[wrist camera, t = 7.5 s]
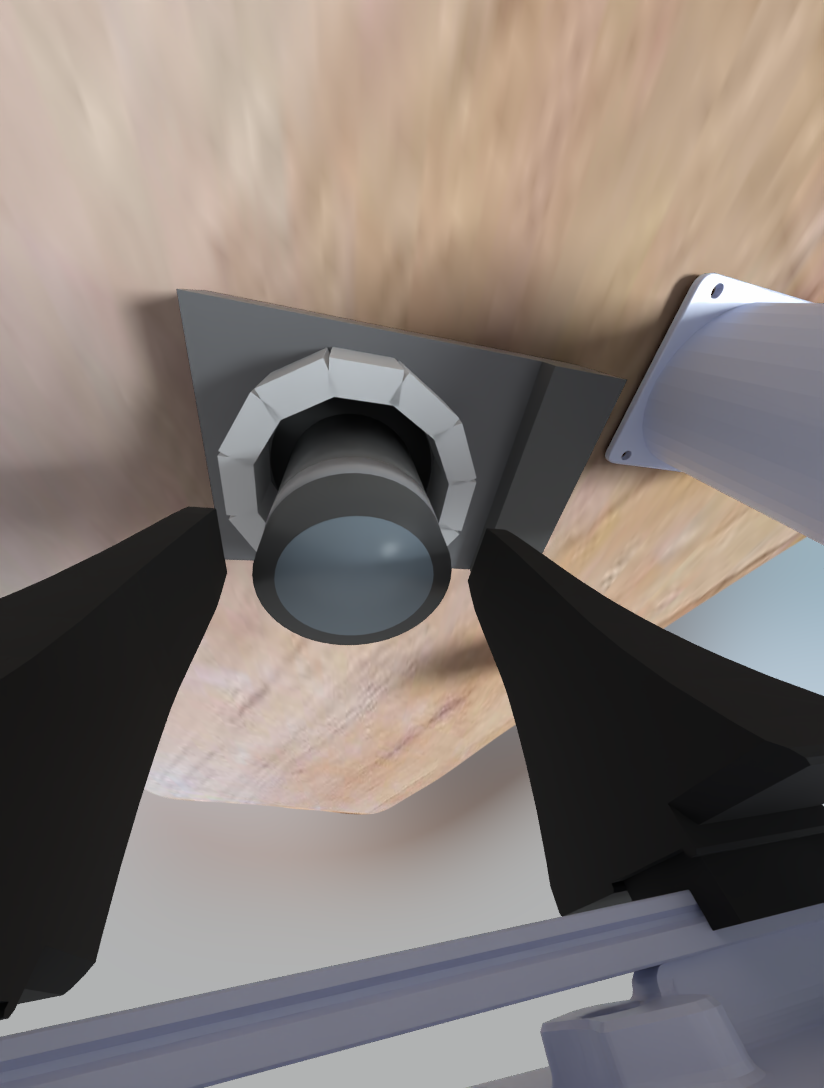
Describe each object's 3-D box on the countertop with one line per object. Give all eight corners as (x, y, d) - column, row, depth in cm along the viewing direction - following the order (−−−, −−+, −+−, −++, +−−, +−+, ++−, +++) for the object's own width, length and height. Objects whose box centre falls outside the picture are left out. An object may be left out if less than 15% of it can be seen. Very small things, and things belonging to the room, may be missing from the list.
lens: (437, 458, 14) (491, 553, 9) (373, 544, 16) (385, 663, 11) (326, 384, 12) (310, 452, 7) (267, 495, 14) (219, 615, 9)
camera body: (575, 364, 15) (657, 388, 11) (503, 544, 21) (540, 603, 17) (205, 290, 12) (133, 286, 8) (237, 529, 17) (205, 598, 13)
